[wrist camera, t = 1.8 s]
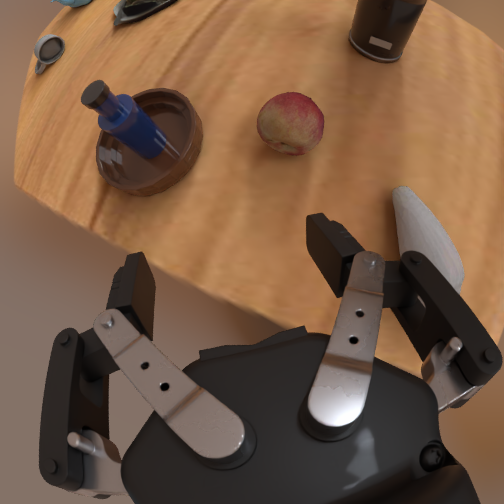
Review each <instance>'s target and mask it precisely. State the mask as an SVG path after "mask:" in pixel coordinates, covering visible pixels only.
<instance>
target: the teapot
mask: <svg viewBox="0 0 504 504" xmlns="http://www.w3.org/2000/svg"><path fill="white" fill-rule="evenodd" d="M53 1H58V2H60V3H61V4H63V5H66V6H70V7H78V6H81V5H84V4H85V5H86V4H88V3H89V2H90V1H91V0H52V1H51V2H53Z"/></svg>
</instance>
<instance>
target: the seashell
mask: <svg viewBox="0 0 504 504" xmlns="http://www.w3.org/2000/svg"><path fill="white" fill-rule="evenodd" d="M392 196H393V205H394V209H395V216H396V225H397V236H398V242H399V250H400V257H401V256H402V254H403V253H404V252H406V251H410V250H412V251H418V252H420V253H422V254H424V255H425V256H426V257H427V258H428V259H429V260H430V261H431V262H432V263H433V264H434V266H435V267H436V268H437V269H438V270H439V271H440V272H441V274H442V275H443V276H444V277H445V278H446V279H447V281H448V282H449V283H450V284H451V285H452V286H453V288H454V289H455V290H456V291H457V293H458V294H460V291H461V285H462V282H463V280H464V269H463V265H462V262H461V259H460V256H459V254H458V252H457V250H456V248H455V246H454V244H453V243H452V241H451V239H450V238H449V236H448V234H447V233H446V231H445V230H444V228H443V227H442V225H441V224H440V222H439V221H438V220H437V218H436V217H435V216H434V215H433V213H432V212H431V211H430V210H429V209H428V208H427V206H426V205H425V204H424V203H423V202H422V201H421V200H420V199H419V198H418V197H417V195H416V194H414V192H413V191H412V190H411V189H410V188H408V187H407V186H405V187H404V186H399V187H398V188H395V189H393V193H392ZM418 299H419V300H420V301H421V303H422V304H423V306H424V307H425V305H424V302H423V301H422V300H421V298H420V297H419V296H418Z"/></svg>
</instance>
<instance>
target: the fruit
mask: <svg viewBox="0 0 504 504" xmlns="http://www.w3.org/2000/svg"><path fill="white" fill-rule="evenodd" d="M323 128H324V115H323V113H322V112H321V110H320V109H319V108H318V106H317V105H316V104H315V103H314V102H313V101H312V100H311V98H309V97H307V96H305V95H302V94H301V93H297V92H287V93H283V94H279V95H277V96H275V97H273V98H272V99H270V100H269V101H268V102H267V103H266V104H265V105H264V106H263V107H262V109H261V110H260V112H259V115H258V118H257V130H258V133H259V135H260V137H261V139H262V140H263V141H264V142H265V143H266V144H267V145H269V146H270V147H271V148H273V149H275V150H276V151H279V152H282V153H285V154H288V155H302V154H305V153H307V152H308V151H310V150H312V149H313V148H314V147H315V146H316V145H317V144H318V143H319V141H320V140H321V138H322V135H323Z"/></svg>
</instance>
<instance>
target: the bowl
mask: <svg viewBox="0 0 504 504" xmlns="http://www.w3.org/2000/svg"><path fill="white" fill-rule="evenodd" d="M131 98H132V99H133V100H134V101H135V102H136V103H137V104H138V105H139V106H140V107H141V108H142V109H143V110H144V111H145V113H146V114H147V115H148V116H149V117H150V118H151V119H152V120H153V121H154V122H155V123H156V124H157V125H158V126H159V127H160V129H161V130H162V131H163V132H164V133H165V135H166V145H165V147H164V149H163V151H162V152H161V153H160V154H159V155H158V156H156V157H154V158H152V159H143V158H141V157H140V156H138V155H137V154H135V153H134V152H133V151H131V150H130V149H129V148H127V147H126V146H125V145H123V144H122V143H120V142H119V141H118V140H116V139H115V138H114V137H112V136H111V135H109V134H108V133H107V132H105V131H104V130H101V132H100V136H99V139H98V142H97V146H96V162H97V166H98V169H99V172H100V174H101V176H102V177H103V178H104V179H105V180H106V182H107V183H108V184H110V185H112V186H114V187H116V188H118V189H120V190H122V191H124V192H127V193H129V194H131V195H142V196H148V195H151V194H155V193H158V192H162V191H164V190H166V189H167V188H169V187H170V186H172V185H173V184H175V183H177V182H178V181H179V180H180V179H181V178H182V177H183V176H184V175H185V174H186V173H187V171H188V170H189V169H190V168H191V167H192V165H193V163H194V161H195V159H196V158H197V156H198V154H199V152H200V148H201V143H202V138H203V131H202V123H201V120H200V118H199V116H198V115H197V113H196V111H195V109H194V108H193V106H192V104H191V103H190V101H189V99H188V98H187V97H185V96H184V95H182V94H181V93H179V92H178V91H176V90H171V89H166V88H157V89H149V90H146V91H143V92H141V93H138V94H136V95H134V96H132V97H131Z"/></svg>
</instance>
